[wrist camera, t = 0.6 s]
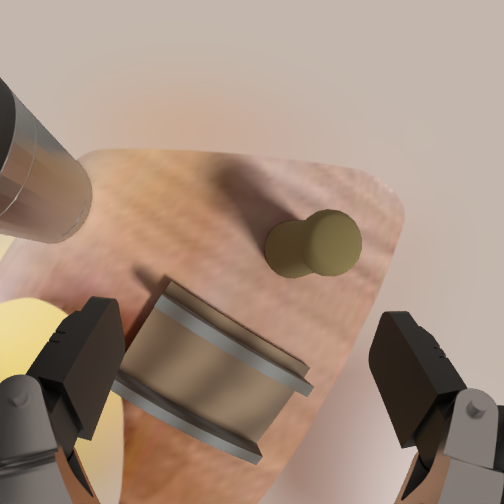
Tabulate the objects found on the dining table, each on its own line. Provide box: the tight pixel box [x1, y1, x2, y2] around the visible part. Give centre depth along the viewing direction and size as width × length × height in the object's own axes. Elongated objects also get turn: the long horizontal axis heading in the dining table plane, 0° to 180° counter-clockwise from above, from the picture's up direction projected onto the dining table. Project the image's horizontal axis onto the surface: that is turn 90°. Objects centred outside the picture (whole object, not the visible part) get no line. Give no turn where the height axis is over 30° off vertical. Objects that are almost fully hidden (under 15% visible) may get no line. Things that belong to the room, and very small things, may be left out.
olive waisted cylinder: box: [264, 209, 362, 278], centre depth 28 cm, size 6×6×11 cm
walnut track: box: [111, 281, 314, 465], centre depth 29 cm, size 17×13×4 cm
